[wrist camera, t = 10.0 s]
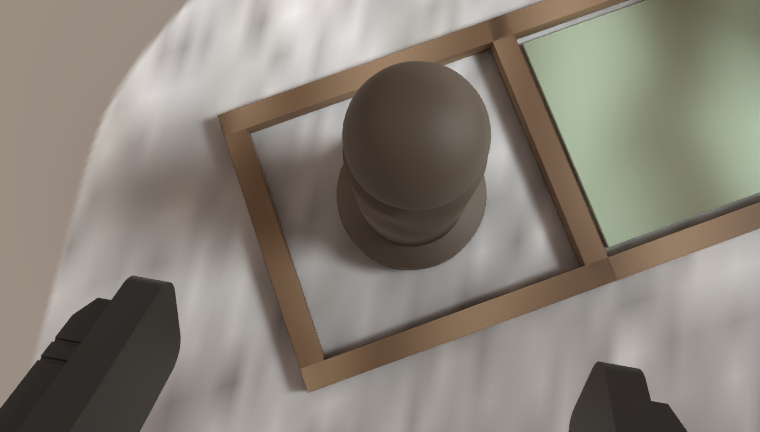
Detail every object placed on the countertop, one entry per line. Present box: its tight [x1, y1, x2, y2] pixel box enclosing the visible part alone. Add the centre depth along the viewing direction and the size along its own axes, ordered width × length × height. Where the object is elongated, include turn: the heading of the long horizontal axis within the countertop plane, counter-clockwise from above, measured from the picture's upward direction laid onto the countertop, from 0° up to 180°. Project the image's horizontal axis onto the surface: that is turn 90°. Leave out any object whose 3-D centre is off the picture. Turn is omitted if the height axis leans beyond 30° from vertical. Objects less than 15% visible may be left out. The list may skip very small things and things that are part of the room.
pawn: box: [337, 61, 491, 270], centre depth 17 cm, size 5×5×9 cm
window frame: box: [218, 0, 760, 393], centre depth 22 cm, size 21×10×1 cm, turn 110°
